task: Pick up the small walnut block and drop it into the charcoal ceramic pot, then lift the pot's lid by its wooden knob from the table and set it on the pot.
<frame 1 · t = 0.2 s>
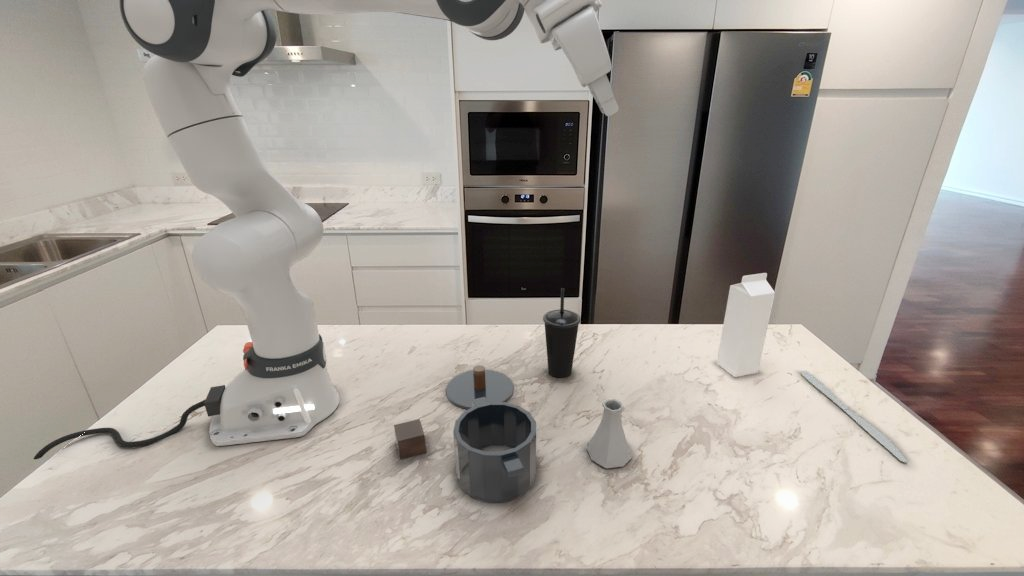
hand: (610, 112, 65), 54 cm above the counter, tool tilted 30°, fingers open, 8 cm apart
block: (411, 450, 82), on the counter
lid: (480, 389, 97), point 1 cm above the counter
drinking cup: (559, 375, 103), on the counter
butter knife: (848, 412, 90), on the counter
milk: (736, 368, 105), on the counter
pot: (496, 471, 77), on the counter
flask: (608, 454, 81), on the counter
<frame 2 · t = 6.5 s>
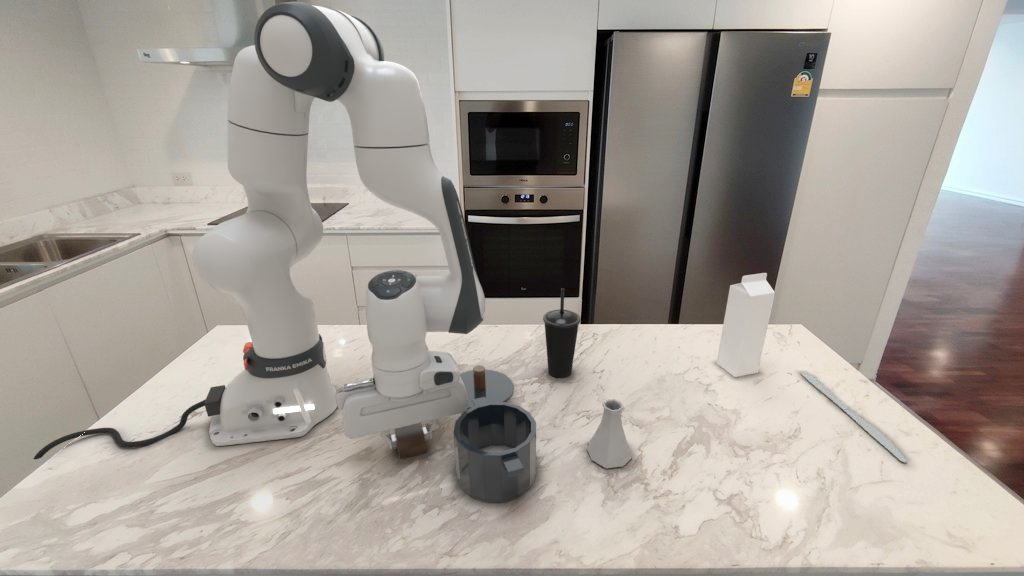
hand: (410, 442, 81), 2 cm above the counter, tool pointing down, fingers closed on block, 4 cm apart
block: (411, 450, 82), on the counter, touching gripper
everything else where it was.
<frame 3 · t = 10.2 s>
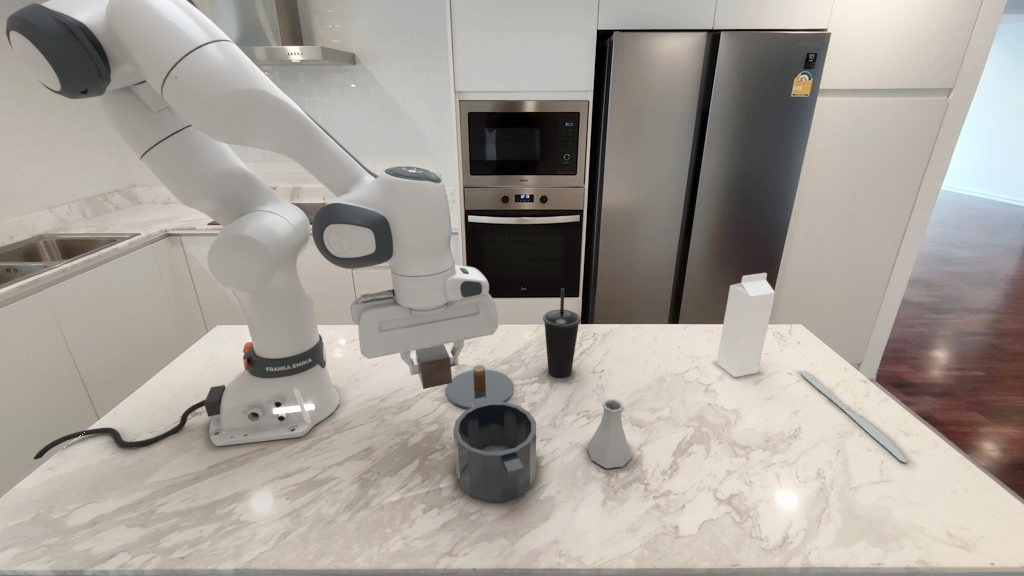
hand: (434, 368, 73), 18 cm above the counter, tool pointing down, fingers closed on block, 4 cm apart
block: (435, 378, 74), point 16 cm above the counter, touching gripper
everything else where it was.
when the fingers open (7 cm above the counter, at t = 13.8 s): block drops 4 cm, resting on pot.
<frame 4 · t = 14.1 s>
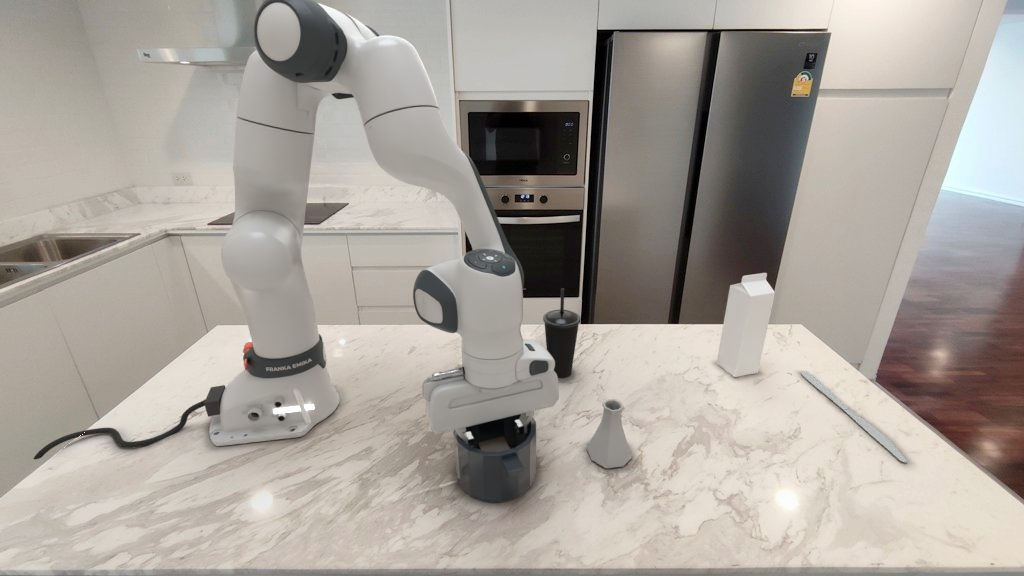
hand: (494, 438, 75), 7 cm above the counter, tool pointing down, fingers open, 7 cm apart
block: (495, 469, 77), point 1 cm above the counter, touching pot
everything else where it was.
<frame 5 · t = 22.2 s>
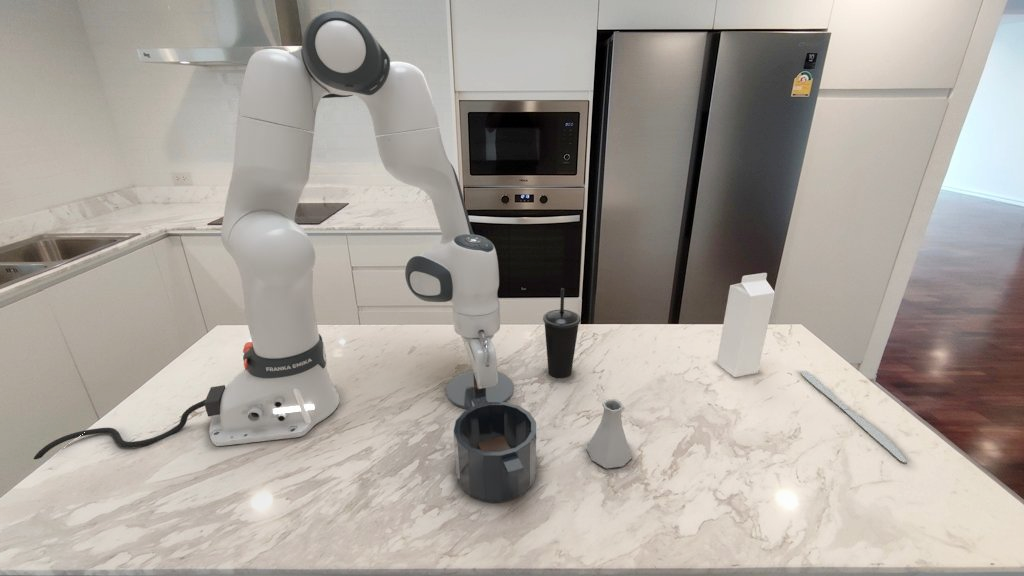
hand: (479, 381, 97), 3 cm above the counter, tool pointing down, fingers closed on lid, 2 cm apart
lid: (480, 389, 97), point 1 cm above the counter, touching gripper
everything else where it was.
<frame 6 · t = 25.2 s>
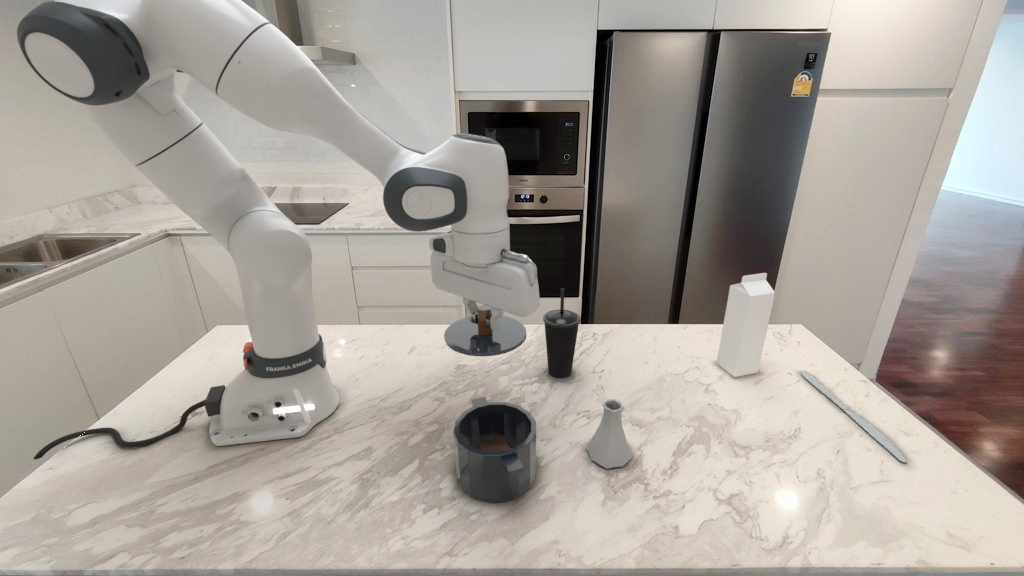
hand: (484, 325, 79), 21 cm above the counter, tool pointing down, fingers closed on lid, 2 cm apart
lid: (485, 335, 80), point 19 cm above the counter, touching gripper
everything else where it was.
when the fingers open (11 cm above the counter, at t = 28.7 s): lid stays where it is, resting on pot.
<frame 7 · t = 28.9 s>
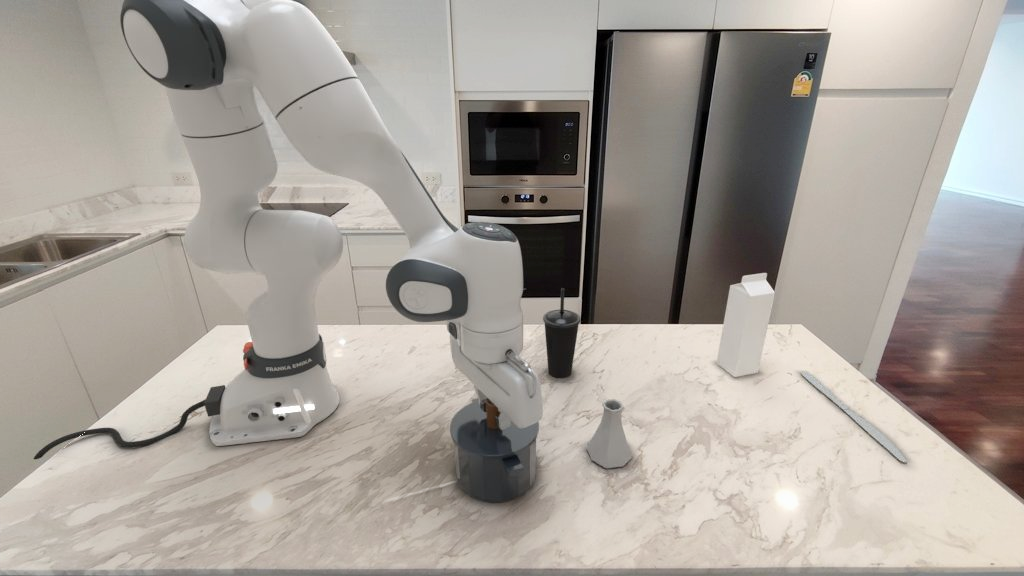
hand: (494, 417, 73), 11 cm above the counter, tool pointing down, fingers open, 4 cm apart
lid: (494, 427, 74), point 9 cm above the counter, touching pot
everything else where it was.
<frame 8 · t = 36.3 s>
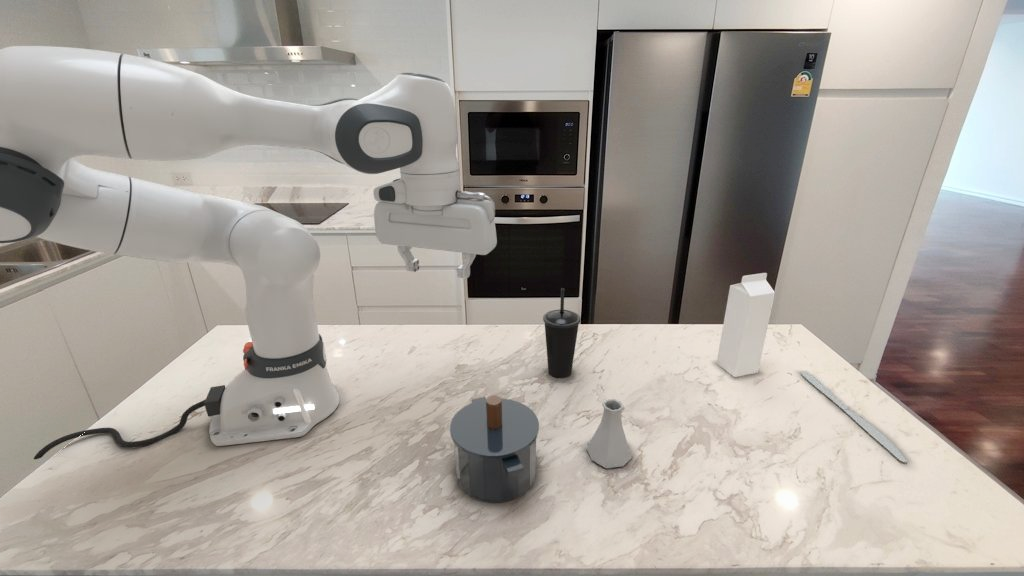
hand: (438, 273, 79), 29 cm above the counter, tool pointing down, fingers open, 8 cm apart
nothing on the counter moved.
at the end: block inside the target area in the pot (0.2 cm from its centre), point 0.5 cm above the pot's base; lid 0.3 cm off-centre on the pot, point 9.0 cm above the pot's base; lid tilted 0° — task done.
